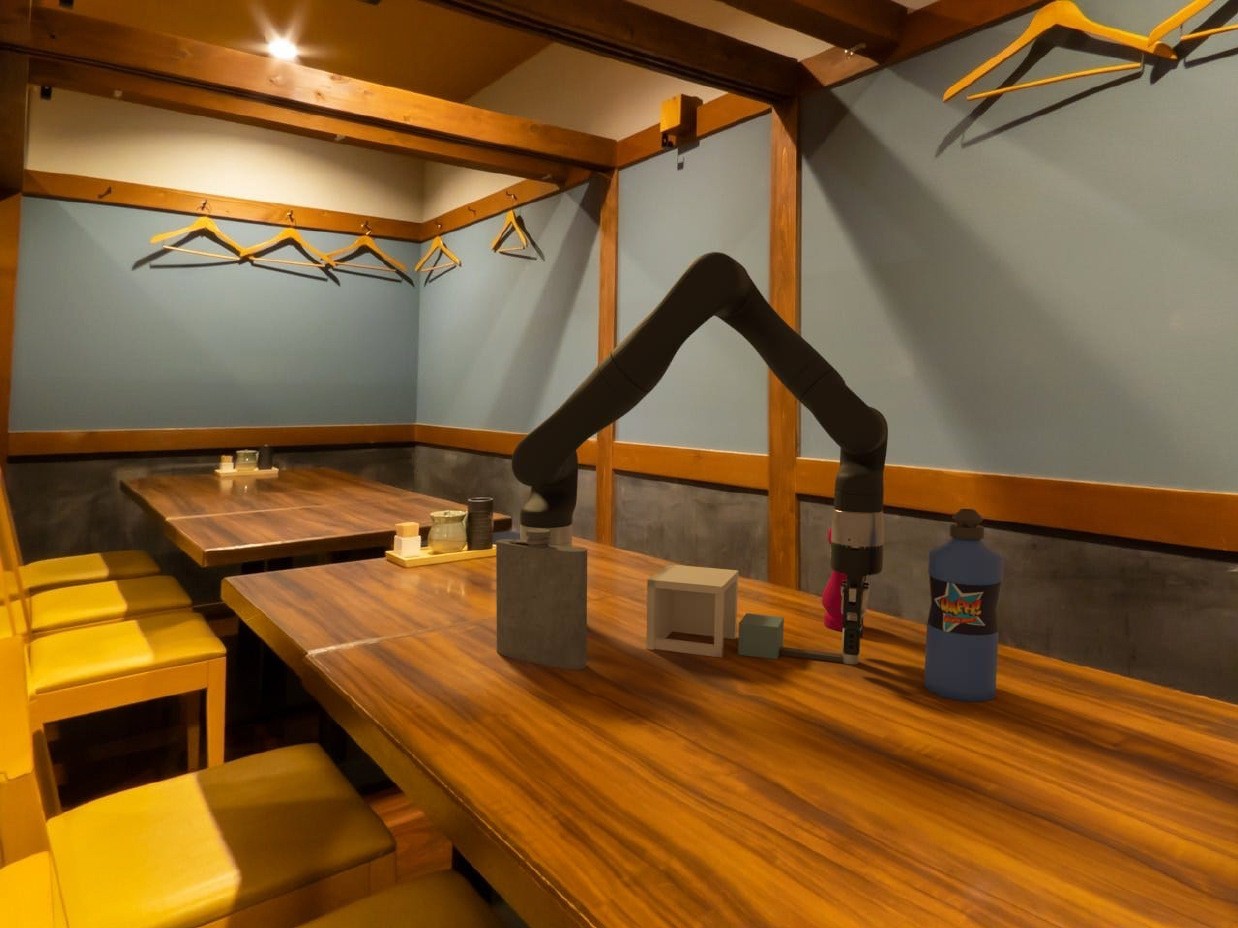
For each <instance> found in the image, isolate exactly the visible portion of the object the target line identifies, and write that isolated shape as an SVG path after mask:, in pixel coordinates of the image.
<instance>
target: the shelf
mask: <svg viewBox="0 0 1238 928" xmlns="http://www.w3.org/2000/svg"><path fill="white" fill-rule="evenodd" d="M646 581H647V583H646V584H647V585H646V591H647V592H646V593H647V594H646V643H645V644H646V650H651V651H652V650H653V651H654V650H658V651H659V650H660V651H661V650H662V651H668V652H675V653H676V652H677V653H684V654H691V655H698V656H706V657H707V656H708V657H714V658H723V656H724V643H725V641H724V639H731V640H736V638H737V630H738V629H737V626H738V625H737V624H738V623H737V622H738V621H737V620H738V591H739V590H738V589H739V588H738V585H739V583H738V581H739V570H735V569H726V568H725V569H724V568H723V569H722V568H715V567H705V566H704V567H703V566H690V565H679V564H678V565H677V564H668V565H666V566H665V567H663V568H662V569H660V570H659V571H658V572H656V573H655V574H653V575H652V576H651V577H649V578H647V580H646ZM672 633H681V634H688V635H689V634H690V635H697V636H705V637H713V643H714V644H712V643H704V642H703V643H702V642H698V641H697V642H695V641H688V640H680V639H671V638H668V637H669V635H671V634H672Z"/></svg>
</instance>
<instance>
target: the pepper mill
mask: <svg viewBox="0 0 1238 928" xmlns="http://www.w3.org/2000/svg"><path fill="white" fill-rule="evenodd" d="M831 530H832V526H831V527H829V529H828V532H827V536H826V537H827V542H828V544H829V545H830V546H831ZM829 552H830V554H829V557H830V558H831V549H830V550H829ZM843 580H846V581H847V575H846V574H844V573H839V572H836V571H834V570H832V569H831V575H830V577H829V580H828V582H827V584H826V586H825V588H824V590H823V592H822V597H821V604H822V607H824V609H825V611H826V613H825V614H823V625H824V626H825V627H827V629H831V630H834V631H835V630H836V631H841V632H843V626H842V622H843V614H842V612H841V604H842V596H841V584H842V582H843Z"/></svg>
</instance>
